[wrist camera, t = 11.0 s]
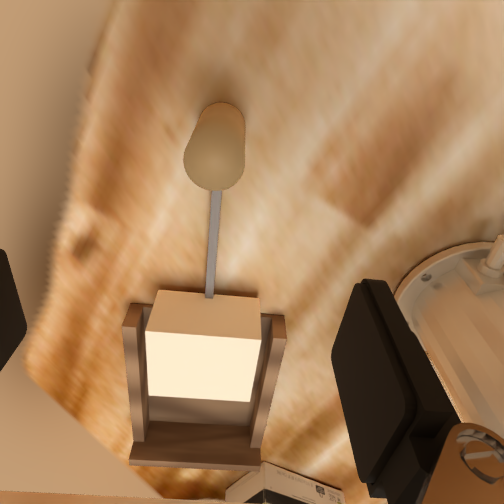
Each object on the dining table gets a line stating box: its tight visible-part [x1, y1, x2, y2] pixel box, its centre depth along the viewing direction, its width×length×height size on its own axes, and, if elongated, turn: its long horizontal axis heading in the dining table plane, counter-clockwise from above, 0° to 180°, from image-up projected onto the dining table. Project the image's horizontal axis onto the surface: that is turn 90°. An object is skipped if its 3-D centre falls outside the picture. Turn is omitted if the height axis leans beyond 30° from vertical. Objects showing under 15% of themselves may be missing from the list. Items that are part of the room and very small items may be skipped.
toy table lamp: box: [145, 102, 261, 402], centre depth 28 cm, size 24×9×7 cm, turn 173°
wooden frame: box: [122, 303, 287, 472], centre depth 38 cm, size 19×14×5 cm
